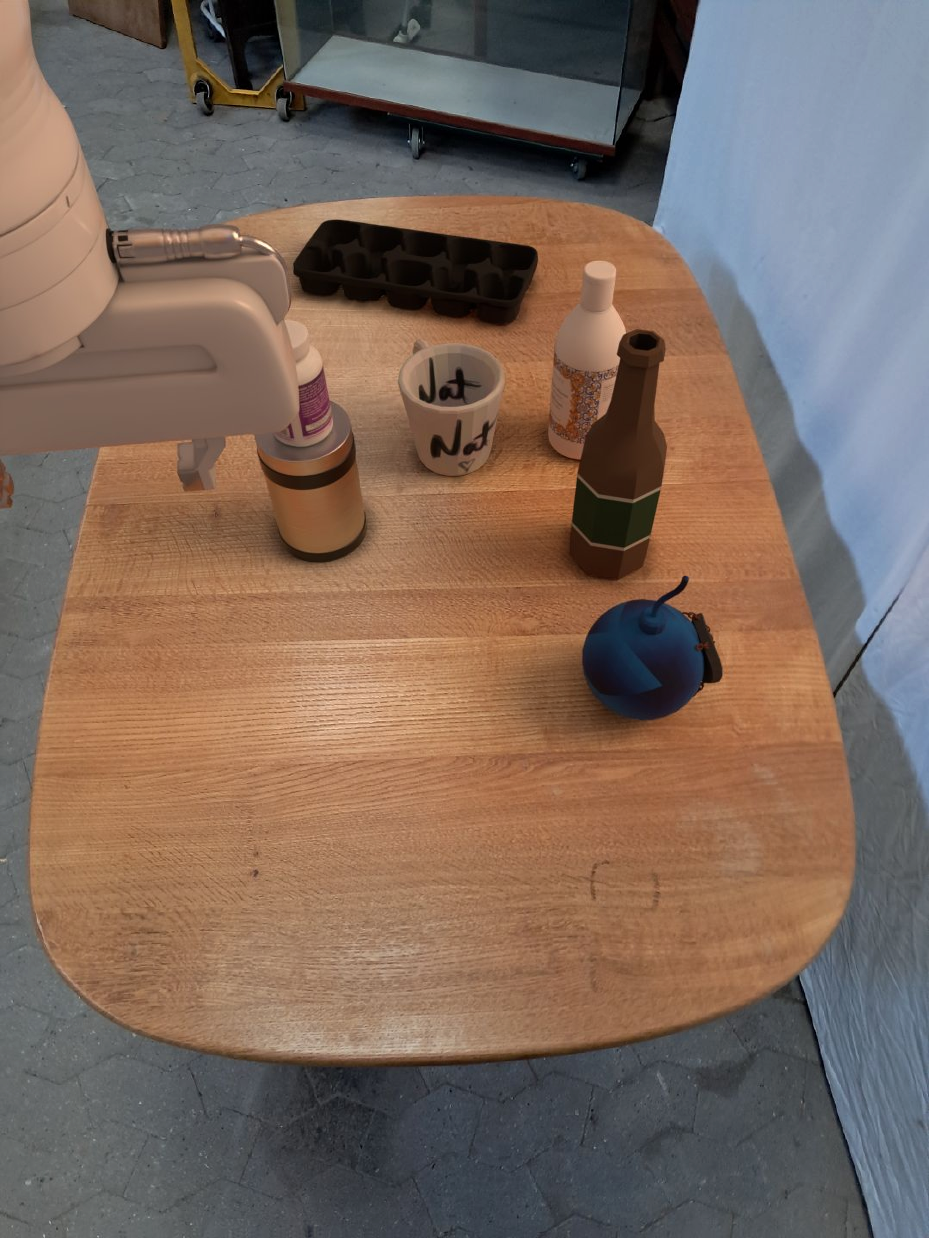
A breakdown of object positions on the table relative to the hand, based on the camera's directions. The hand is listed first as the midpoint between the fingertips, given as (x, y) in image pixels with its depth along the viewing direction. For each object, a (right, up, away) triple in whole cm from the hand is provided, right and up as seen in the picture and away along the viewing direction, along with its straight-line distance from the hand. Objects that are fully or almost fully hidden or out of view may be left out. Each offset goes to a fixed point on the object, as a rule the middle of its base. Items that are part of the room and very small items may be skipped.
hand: (100, 489), depth 43 cm
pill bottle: (+3, +10, +36) cm, 37 cm away
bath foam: (+30, +13, +53) cm, 62 cm away
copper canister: (+4, +3, +46) cm, 46 cm away
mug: (+15, +13, +54) cm, 57 cm away
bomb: (+32, -12, +34) cm, 49 cm away
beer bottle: (+31, 0, +44) cm, 54 cm away
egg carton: (+11, +36, +71) cm, 80 cm away
